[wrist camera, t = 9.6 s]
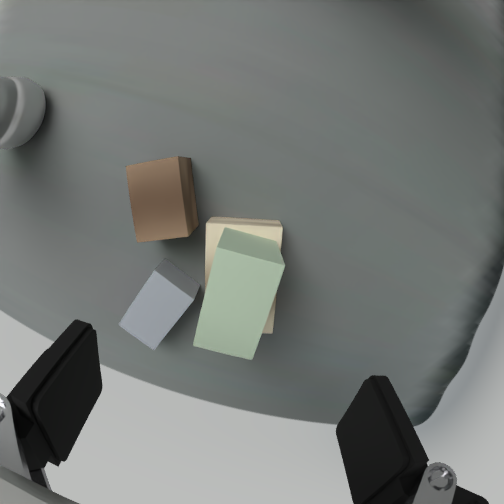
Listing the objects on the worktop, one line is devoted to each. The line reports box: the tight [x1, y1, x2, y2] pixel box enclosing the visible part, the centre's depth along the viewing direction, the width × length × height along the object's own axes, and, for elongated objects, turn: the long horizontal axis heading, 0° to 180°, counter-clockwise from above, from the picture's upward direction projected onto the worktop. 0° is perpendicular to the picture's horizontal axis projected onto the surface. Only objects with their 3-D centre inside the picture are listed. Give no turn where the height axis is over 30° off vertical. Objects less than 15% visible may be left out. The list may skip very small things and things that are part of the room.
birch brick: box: [205, 217, 283, 334], centre depth 22 cm, size 8×5×3 cm, turn 176°
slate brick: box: [119, 259, 200, 350], centre depth 22 cm, size 6×4×3 cm, turn 141°
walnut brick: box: [126, 156, 199, 242], centre depth 19 cm, size 5×4×4 cm
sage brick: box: [193, 227, 285, 360], centre depth 18 cm, size 6×4×5 cm, turn 164°
